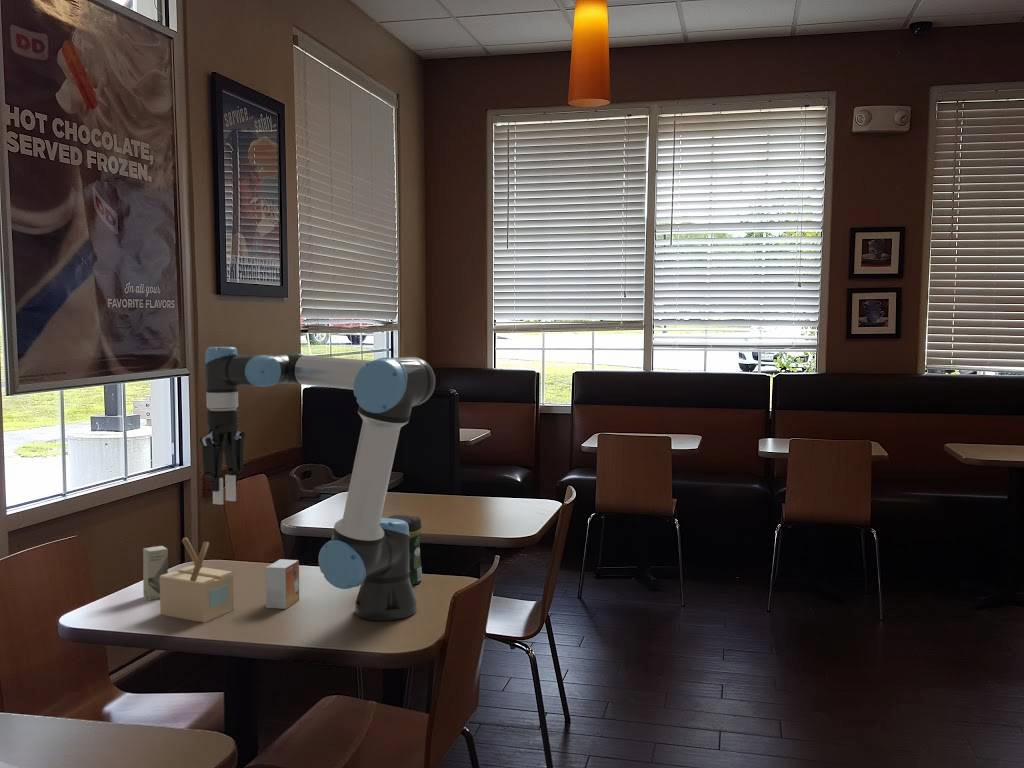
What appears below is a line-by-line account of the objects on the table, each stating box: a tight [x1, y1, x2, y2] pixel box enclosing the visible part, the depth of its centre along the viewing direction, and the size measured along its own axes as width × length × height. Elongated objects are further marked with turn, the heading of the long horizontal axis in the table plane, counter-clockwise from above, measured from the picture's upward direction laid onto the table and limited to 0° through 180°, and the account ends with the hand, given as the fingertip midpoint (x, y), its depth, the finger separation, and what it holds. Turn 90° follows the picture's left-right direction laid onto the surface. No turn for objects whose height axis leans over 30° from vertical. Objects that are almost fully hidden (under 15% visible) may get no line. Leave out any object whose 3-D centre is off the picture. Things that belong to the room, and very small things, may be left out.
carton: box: [159, 571, 235, 623], centre depth 215 cm, size 14×10×9 cm
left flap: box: [160, 540, 215, 585], centre depth 212 cm, size 14×6×9 cm, turn 65°
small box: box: [264, 558, 300, 610], centre depth 221 cm, size 8×6×10 cm
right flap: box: [178, 537, 233, 578], centre depth 216 cm, size 14×6×9 cm, turn 65°
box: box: [142, 545, 169, 601], centre depth 227 cm, size 5×4×13 cm
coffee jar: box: [387, 514, 423, 586], centre depth 240 cm, size 10×8×19 cm
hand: (224, 502), depth 218 cm, fingers open, 4 cm apart
